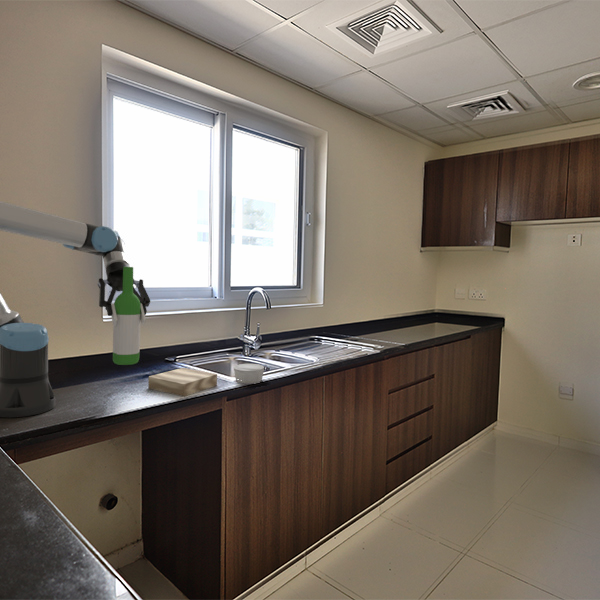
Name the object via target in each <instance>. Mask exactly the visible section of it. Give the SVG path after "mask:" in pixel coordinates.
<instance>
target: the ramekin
mask: <svg viewBox="0 0 600 600" xmlns="http://www.w3.org/2000/svg"><path fill="white" fill-rule="evenodd" d="M233 371H234V377H235V380H236V382H237V383H239V384H245V385H247V384H248V385H252V384H254V385H255V384H258V383H260V382H262V380H263V375H264V371H265V366H264V365H262V364H259V363H240V364H236V365H234V366H233ZM237 379H239V380H237ZM240 380H242V381H240Z"/></svg>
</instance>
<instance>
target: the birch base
mask: <svg viewBox="0 0 600 600" xmlns="http://www.w3.org/2000/svg"><path fill="white" fill-rule="evenodd" d="M217 386H218V374H217V373H212V372H207V371H202V370H198V369H193V368H187V367H186V368H185V367H181V368H177V369H173V370H169V371H165V372H161V373H157V374H152V375H149V376H148V389H150V390H151V389H152V390H153V391H154V390H155V391H158V392H164V393H167V394H171V395H175V396H176V395H177V396H180V397H186V396H189V395H192V394H195V393H199V392H201V391H204V390H208V389H211V388H213V387H217Z"/></svg>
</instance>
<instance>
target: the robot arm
mask: <svg viewBox="0 0 600 600" xmlns="http://www.w3.org/2000/svg"><path fill="white" fill-rule="evenodd" d="M0 231H1V232H6V233H9V234H10V233H11V234H15V235H19V236H24V237H28V238H34V239H38V240H42V241H49V242H52V243H56V244H62V246H63V247H64V248H67V249H71V250H72V251H79V252H82V253H87V254H90V255H94V256H99V257H102V259H103V263H104V268H105V274H106V279H103V278H102V277H100V278H99V279H98V282H97V286H98V288H99V295H98V298H99V299H98V305H99V307H100V308H105V311H106V313H107V316H108V317H110V318H111V322H112V326H116V324H117V321H118V320H117V315H116V310H115V305H114V303H113V300H114V298H115V296H116V293H117V292H122V291H123V267H131V266H130V262H129V259H128V254H127V251H126V246H125V245H126V244H125V241H124V238H123V236H122V235H121V233H120V232H118V231H116V230H114V229H113V228H111V227H108V226H104V225H100V226H98V225H93V224H89V223H85V222H81V221H79V220H75V219H70V218H67V217H63V216H59V215H56V214H51V213H48V212H43V211H39V210H35V209H33V208H28V207H24V206H21V205H17V204H14V203H13V204H12V203H9V202H5V201H1V200H0ZM107 285H108V286H109V287H111V290H110V293H109V295H108V298H107V300H106V299H105V298H106V286H107ZM135 287H136V288H137V290H138V291H137V290H136V289H135ZM133 293H134V294H135V295H136V296H137V297H138V298H139V300H140V304H141V310H140V326H144V325H145V324H146V320H147V318H146V314H147V312H148V311H147V308H148V307H149V306H150V304H151V299H150V297H149V294H148V292H147V290H146V288H145V285H144V280H143V279H141V278H140V279H139V280H135V279H134V278H133ZM49 339H50V338H49V333H48V330H47V328H46V326H44V325H42V324H40V323H33V322H24V321H23V319H22V317H21V315H20V313H19V311H16V310H11V309H10V307H9V306H8V304H7V302H6V300H5V299H4V297H3V295H2V294H1V292H0V418H10V419H11V418H22V417H23V418H24V417H30V416H34V415H38V414H43V413H46V412H49V411H50V410H52V409H54V408H55V407H56V396H55V393H54V391H53V388H52V386H51V383H50V380H49V341H50V340H49Z"/></svg>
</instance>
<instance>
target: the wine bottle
mask: <svg viewBox="0 0 600 600" xmlns="http://www.w3.org/2000/svg"><path fill="white" fill-rule="evenodd" d="M133 279H134V267H133V266H130V267H123V291H121V293H120V294H119V295H118V296H117V297H115V300H114V302H113V304H114V305H115V310H116V315H117V320H118V321H117V324H116V326H113V325H112V326H113V328H112V331H113V333H112V362H113V364H115V365H119V366H120V365H121V366H128V365H129V366H130V365H135V364H138V362H140V361H139V360H140V350H141V348H140V347H141V321H140V310H141V304H140V300H139V298H138V297H137V296H136V295H135V294H134V293H133V286H134V284H133Z"/></svg>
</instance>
